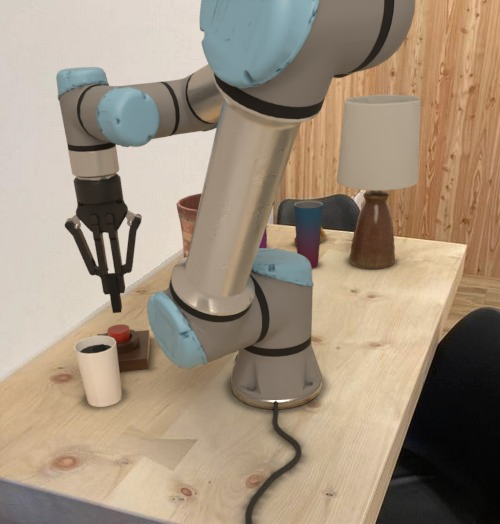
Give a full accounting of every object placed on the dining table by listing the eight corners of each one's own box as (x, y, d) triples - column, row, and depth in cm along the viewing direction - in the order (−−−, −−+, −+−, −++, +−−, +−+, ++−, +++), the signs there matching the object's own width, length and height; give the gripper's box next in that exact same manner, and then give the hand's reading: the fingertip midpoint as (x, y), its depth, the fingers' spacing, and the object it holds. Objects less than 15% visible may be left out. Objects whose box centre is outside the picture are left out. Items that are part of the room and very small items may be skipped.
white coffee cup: (91, 387, 110) (81, 335, 105) (129, 388, 109) (121, 335, 104) (79, 407, 104) (67, 353, 99) (118, 408, 103) (109, 354, 98)
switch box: (148, 369, 115) (145, 349, 113) (92, 373, 114) (88, 353, 112) (150, 340, 125) (147, 321, 123) (99, 344, 124) (95, 325, 122)
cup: (326, 262, 159) (327, 202, 151) (313, 271, 154) (314, 209, 146) (302, 258, 162) (302, 199, 154) (289, 267, 157) (288, 205, 150)
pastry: (308, 249, 168) (308, 235, 167) (287, 244, 172) (287, 231, 170) (328, 240, 174) (328, 226, 172) (308, 236, 178) (308, 222, 176)
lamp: (322, 255, 164) (326, 98, 144) (387, 246, 168) (399, 92, 149) (354, 279, 148) (363, 107, 129) (424, 268, 153) (443, 100, 134)
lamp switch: (130, 342, 116) (128, 332, 115) (108, 344, 116) (106, 334, 115) (131, 333, 119) (130, 323, 118) (110, 335, 119) (108, 325, 118)
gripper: (138, 168, 106) (154, 299, 119) (59, 172, 105) (83, 304, 118) (135, 178, 100) (152, 315, 112) (51, 182, 99) (78, 321, 112)
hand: (117, 309), depth 115 cm, fingers closed
